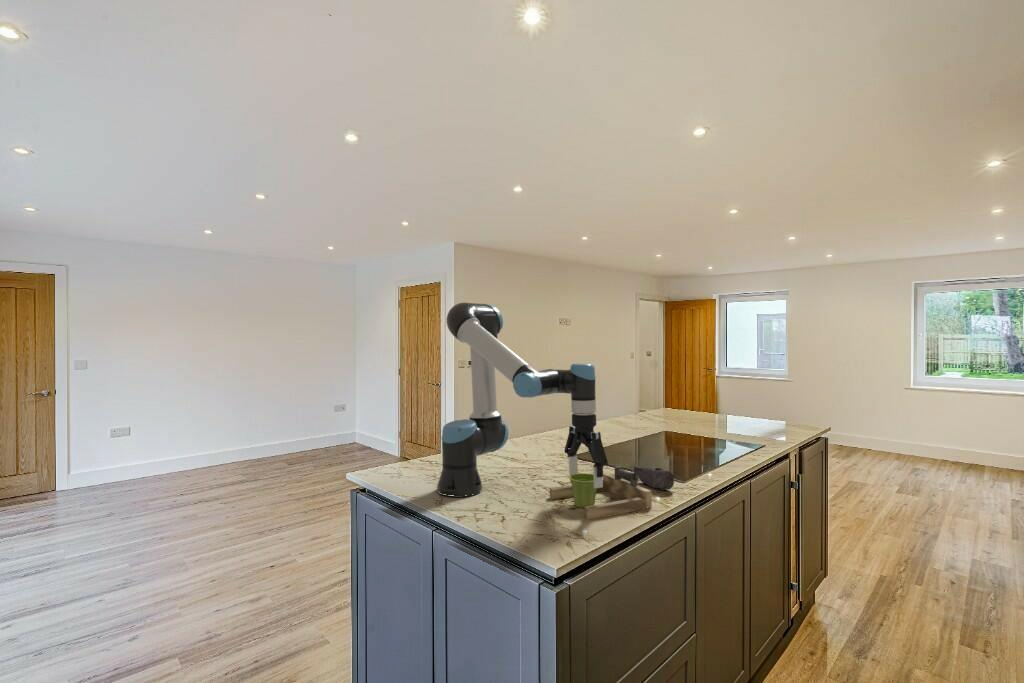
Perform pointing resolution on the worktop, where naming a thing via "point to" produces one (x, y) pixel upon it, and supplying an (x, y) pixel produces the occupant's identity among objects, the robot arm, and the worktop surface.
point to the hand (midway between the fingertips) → (585, 482)
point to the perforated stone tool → (656, 477)
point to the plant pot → (583, 489)
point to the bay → (615, 484)
